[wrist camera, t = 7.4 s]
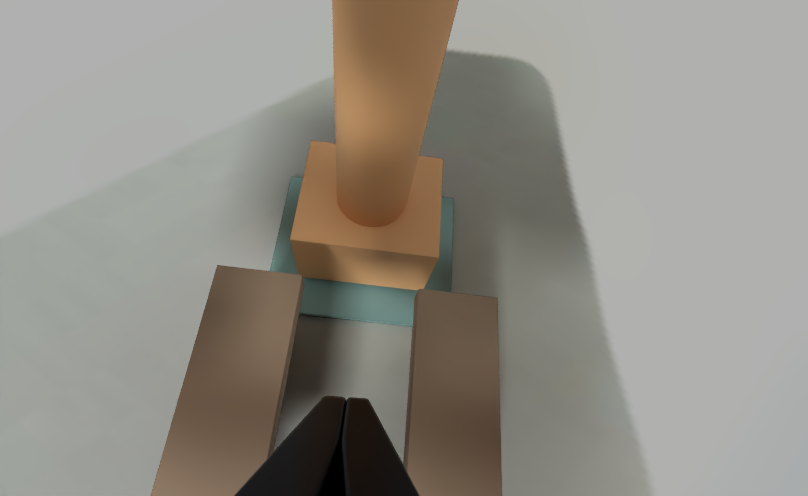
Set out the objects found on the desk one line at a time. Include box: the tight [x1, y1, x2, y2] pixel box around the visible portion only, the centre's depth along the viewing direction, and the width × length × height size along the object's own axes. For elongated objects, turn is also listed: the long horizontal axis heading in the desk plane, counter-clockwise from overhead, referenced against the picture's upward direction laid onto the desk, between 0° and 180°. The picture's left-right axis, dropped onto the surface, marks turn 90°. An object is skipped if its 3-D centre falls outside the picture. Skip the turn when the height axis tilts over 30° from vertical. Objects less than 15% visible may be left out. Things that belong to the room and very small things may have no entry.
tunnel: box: [151, 177, 502, 496], centre depth 16 cm, size 24×10×6 cm, turn 176°
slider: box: [290, 0, 459, 290], centre depth 15 cm, size 5×6×15 cm
